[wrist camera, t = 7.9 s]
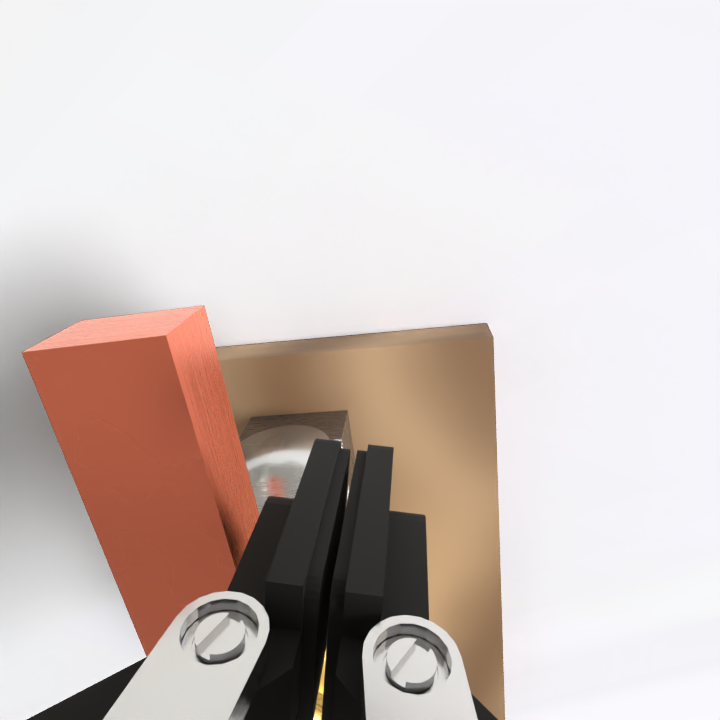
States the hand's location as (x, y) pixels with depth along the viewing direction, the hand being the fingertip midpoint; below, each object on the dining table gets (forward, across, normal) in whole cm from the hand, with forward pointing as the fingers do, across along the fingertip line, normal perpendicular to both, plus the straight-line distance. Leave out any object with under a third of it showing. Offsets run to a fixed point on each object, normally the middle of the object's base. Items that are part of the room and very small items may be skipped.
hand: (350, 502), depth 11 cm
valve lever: (0, +2, +4) cm, 4 cm away
